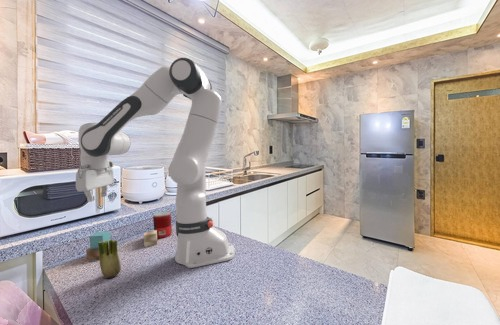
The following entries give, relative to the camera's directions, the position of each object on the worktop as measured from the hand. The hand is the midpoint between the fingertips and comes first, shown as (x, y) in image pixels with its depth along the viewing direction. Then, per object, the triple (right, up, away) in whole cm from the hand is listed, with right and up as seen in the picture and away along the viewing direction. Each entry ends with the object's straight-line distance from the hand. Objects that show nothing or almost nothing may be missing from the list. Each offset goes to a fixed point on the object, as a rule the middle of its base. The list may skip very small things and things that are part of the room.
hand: (98, 198), depth 88 cm
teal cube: (+1, -19, +1) cm, 19 cm away
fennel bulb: (+15, -23, -15) cm, 32 cm away
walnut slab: (+1, -23, +1) cm, 23 cm away
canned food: (+19, -21, +19) cm, 34 cm away
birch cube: (+17, -22, +10) cm, 29 cm away
